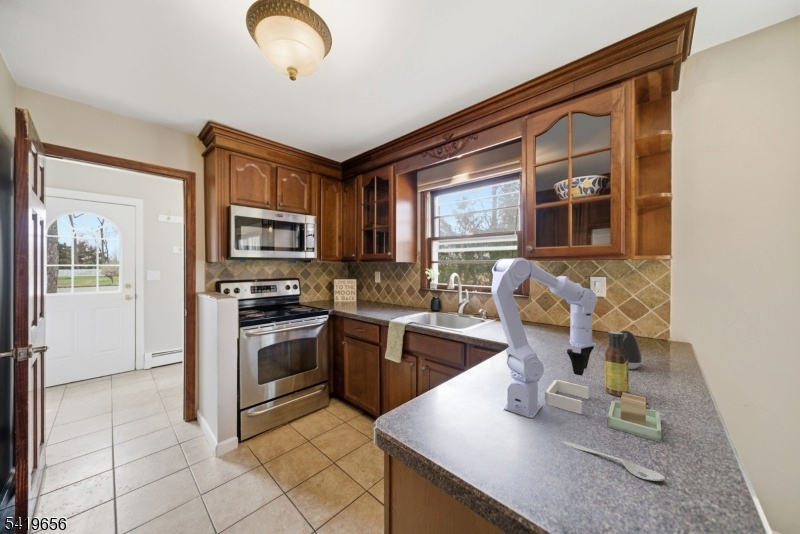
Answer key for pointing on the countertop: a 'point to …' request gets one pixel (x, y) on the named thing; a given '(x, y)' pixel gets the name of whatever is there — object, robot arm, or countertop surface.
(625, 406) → the upright wooden block
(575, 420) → the countertop surface
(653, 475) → the spoon
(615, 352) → the sauce bottle
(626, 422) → the tray
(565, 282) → the robot arm
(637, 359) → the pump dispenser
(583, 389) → the bay
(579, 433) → the countertop surface
